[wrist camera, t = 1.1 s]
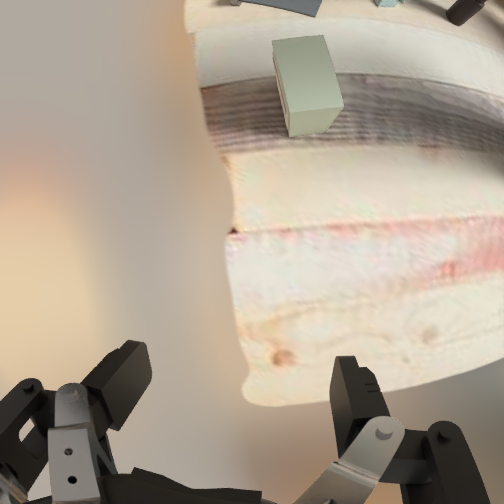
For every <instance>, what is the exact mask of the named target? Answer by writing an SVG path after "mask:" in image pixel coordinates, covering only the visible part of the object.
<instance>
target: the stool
mask: <svg viewBox="0 0 504 504" xmlns="http://www.w3.org/2000/svg"><path fill="white" fill-rule="evenodd" d="M374 1H375V3H376V4H377V6H378V7H395V5H396V4H397V0H374ZM400 1H401V2H402V3H404V2H405V0H400ZM486 1H487V0H457V1H456V2H455V3H454V4H453V5H452V6H451V7H450V8H449V9H448V11H447V12H446V15H447V17H448V19H449V20H450V21H451V22H452V23H454V24H455V25H458V26H461V25H462V24H464V23H465V22H466V21H467V20H468V19H470V18H471V17H472V16H473V15H474V14H476V13H477V12H478V11H479V10H480V9H482V8H483V7H484V2H486Z"/></svg>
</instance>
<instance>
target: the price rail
mask: <svg viewBox="0 0 504 504" xmlns="http://www.w3.org/2000/svg"><path fill="white" fill-rule="evenodd" d="M230 2H231V5H236V6H240V4H241V3H242V0H230Z"/></svg>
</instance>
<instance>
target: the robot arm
mask: <svg viewBox="0 0 504 504" xmlns="http://www.w3.org/2000/svg"><path fill="white" fill-rule="evenodd" d="M151 378H152V369H151V365H150V360H149V355H148V351H147V346H146V344H145V343H144V342H139V341H133V340H128V341H126V342H125V343H124V344H123V345H122V346H121V347H120V349H118V348H117V349H116V350H114V351H112V352H110V353H108V354H107V355H106V356H105V357H104V358H103V360H102V361H101V362H100V363H99V364H98V365H97V366H96V367H95V368H94V369H93V370H92V371H91V372H90V373H89V374H88V375H87V376H86V377H85V378H84V379H83V381H82V382H81V383H80V384H79V383H68V384H65V385H63V386H61V387H60V388H59V389H58V390H57V391H50V390H44V388H43V386H42V384H41V382H40V381H39V380H38V379H35V378H28V379H25V380H23V381H21V382H19V383H18V384H17V385H16V386H15V387H14V388H13V389H12V390H11V391H10V392H9V393H8V394H7V395H6V396H5V397H4V398H3V399H2V400H1V401H0V504H277V503H274V502H271V501H269V500H265V499H262V498H261V497H262V491H253V490H242V489H233V488H217V489H191V488H188V487H186V486H184V485H182V484H180V483H177V482H175V481H173V480H171V479H169V478H167V477H165V476H163V475H160V474H156V473H153V472H149V471H146V470H143V469H139V468H136V467H134V469H133V471H132V472H131V474H118V472H117V469H116V466H115V463H114V459H113V456H112V452H111V448H110V444H109V440H108V436H107V433H106V431H107V430H108V428H110V429H113V430H116V431H119V430H120V429H121V427H122V426H123V424H124V423H125V421H126V419H127V418H128V416H129V414H130V413H131V412H132V410H133V409H134V407H135V405H136V404H137V402H138V400H139V399H140V398H141V396H142V394H143V393H144V391H145V390H146V388H147V387H148V385H149V384H150V382H151ZM330 403H331V409H332V415H333V421H334V428H335V435H336V442H337V450H338V457H339V460H338V461H337V462H333V463H332V464H331V465H330V466H329V467H328V468H327V469H326V470H325V471H324V472H323V473H322V474H321V476H320V477H319V478H318V479H317V480H316V481H315V482H314V483H313V484H312V485H311V486H310V487H309V488H308V489H307V490H306V491H305V492H304V493H303V494H302V495H301V497H299V498H298V499H297V500H296V501H295V502H294V503H293V504H364V502H365V501H366V499H367V498H368V497H369V495H370V494H371V492H372V491H373V489H374V488H375V486H376V485H377V483H378V482H385V483H397V484H398V483H399V484H400V489H401V494H402V500H403V504H490V501H489V498H488V495H487V492H486V489H485V486H484V483H483V481H482V478H481V475H480V473H479V471H478V468H477V465H476V463H475V460H474V458H473V456H472V453H471V451H470V449H469V446H468V444H467V442H466V440H465V437H464V435H463V433H462V431H461V429H460V428H459V427H458V426H457V425H456V424H454V423H452V422H449V421H438V422H436V423H434V424H432V425H431V426H430V428H429V429H428V431H416V430H408V429H404V427H403V425H402V424H401V422H399V421H398V420H397V419H395V418H392V417H391V416H390V413H389V411H388V408H387V405H386V403H385V400H384V398H383V395H382V392H380V387H379V385H378V382H377V380H376V377H375V375H374V374H373V373H372V372H371V371H370V370H369V369H368V368H367V367H359V366H358V363H357V360H356V358H355V356H336V358H335V363H334V368H333V373H332V379H331V384H330ZM29 418H30V419H31V420H32V422H33V424H34V425H35V426H34V427H33V428H32V430H31V431H30V432H29V433H28V435H27V436H26V437H25V438H24V440H23V441H22V442H21V441H20V439H19V431H20V429H21V428H22V427H23V425H24V424H25V423H26V422H27V421H28V420H29ZM48 461H49V472H50V483H51V492H52V495H51V496H47V497H44V498H40V499H37V500H33V501H29V500H28V491H29V490H30V488H31V487H32V485H33V484H34V482H35V480H36V479H37V477H38V476H39V474H40V473H41V471H42V470H43V468H44V467H45V465H46V464H47V462H48Z"/></svg>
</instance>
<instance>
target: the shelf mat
mask: <svg viewBox="0 0 504 504" xmlns="http://www.w3.org/2000/svg"><path fill="white" fill-rule="evenodd" d="M242 1H243V2H250V3H256V4H261V5H267V6H272V7H276V8H281V9H285V10H290V11H294V12H297V13H301V14H305V15H309V16H312V17H315V16H316V14H317V12H318V9H319V7H320V4H321V2H322V0H242Z"/></svg>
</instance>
